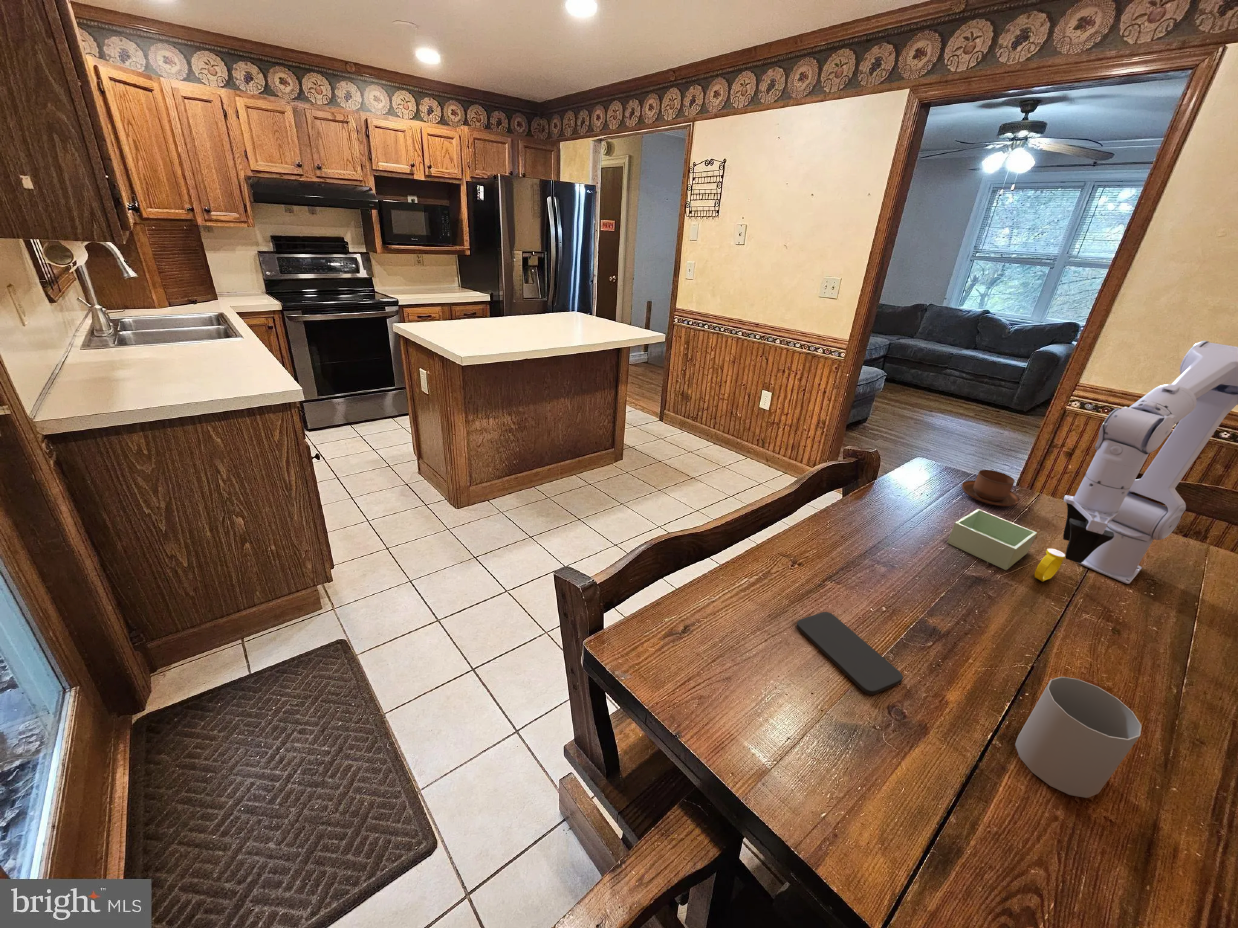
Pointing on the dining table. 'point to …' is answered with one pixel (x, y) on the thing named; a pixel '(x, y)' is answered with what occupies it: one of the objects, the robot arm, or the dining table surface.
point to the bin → (991, 538)
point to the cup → (1077, 736)
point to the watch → (1049, 564)
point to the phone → (850, 653)
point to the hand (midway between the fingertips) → (1071, 550)
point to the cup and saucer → (992, 488)
